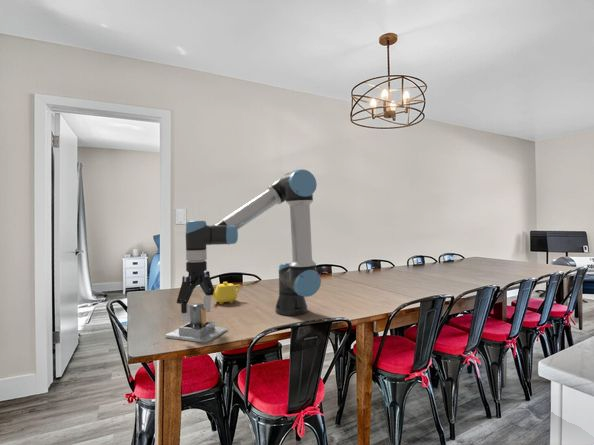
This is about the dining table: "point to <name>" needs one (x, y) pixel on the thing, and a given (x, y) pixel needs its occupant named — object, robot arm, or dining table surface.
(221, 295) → the teapot
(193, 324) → the grey rounded cylinder
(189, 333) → the collar
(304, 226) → the robot arm
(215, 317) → the dining table surface
